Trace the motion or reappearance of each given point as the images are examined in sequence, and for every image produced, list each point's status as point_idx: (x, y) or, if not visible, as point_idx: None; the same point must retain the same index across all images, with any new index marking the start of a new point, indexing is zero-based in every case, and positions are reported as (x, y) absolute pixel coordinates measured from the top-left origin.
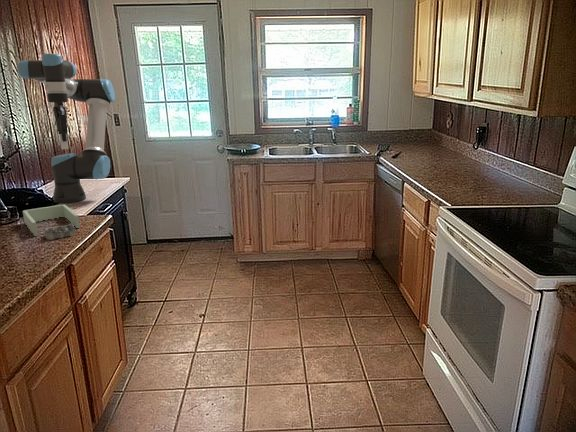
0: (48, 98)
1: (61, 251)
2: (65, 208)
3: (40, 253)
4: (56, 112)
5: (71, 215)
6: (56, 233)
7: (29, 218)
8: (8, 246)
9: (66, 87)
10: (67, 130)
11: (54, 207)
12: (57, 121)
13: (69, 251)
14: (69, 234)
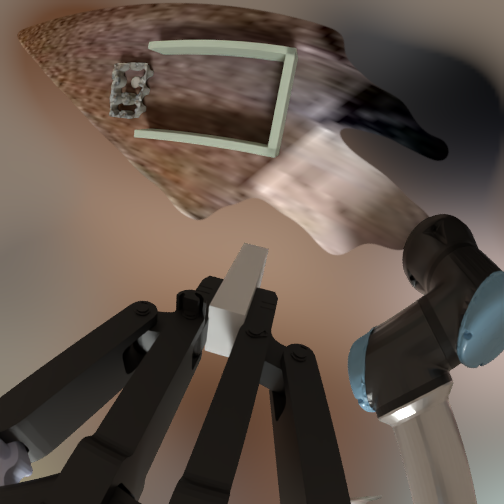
0: None
1: (69, 79)
2: (230, 140)
3: (81, 52)
4: (51, 491)
5: (172, 132)
6: (121, 81)
7: (190, 40)
8: (145, 8)
9: None
10: (130, 348)
11: (272, 125)
12: (212, 431)
13: (63, 89)
14: (118, 103)
